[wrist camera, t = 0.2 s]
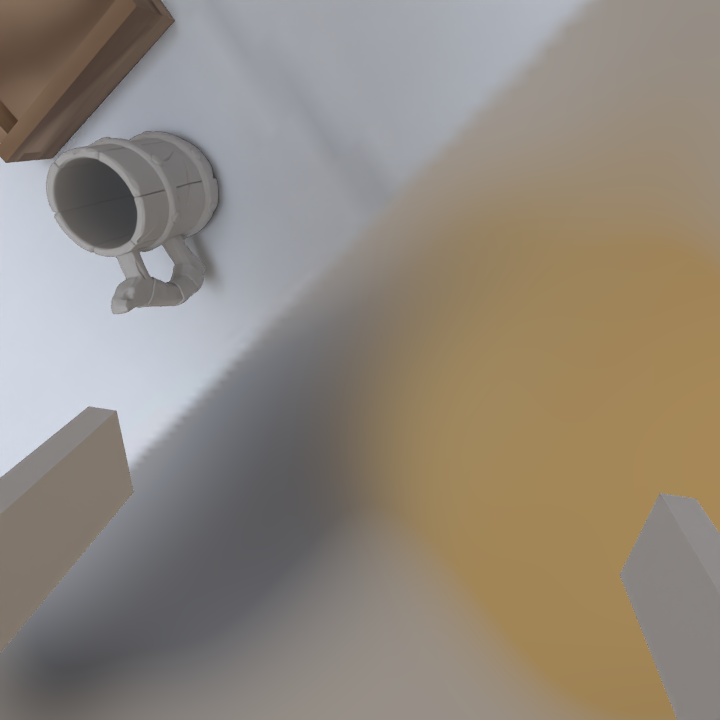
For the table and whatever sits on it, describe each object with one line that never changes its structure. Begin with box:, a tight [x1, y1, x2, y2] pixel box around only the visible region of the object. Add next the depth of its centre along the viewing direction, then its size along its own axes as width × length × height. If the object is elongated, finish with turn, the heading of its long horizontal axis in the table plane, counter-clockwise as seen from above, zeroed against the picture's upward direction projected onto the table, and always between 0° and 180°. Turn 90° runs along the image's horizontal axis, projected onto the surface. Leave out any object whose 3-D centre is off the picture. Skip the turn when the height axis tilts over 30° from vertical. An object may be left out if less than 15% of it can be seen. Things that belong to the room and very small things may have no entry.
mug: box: [46, 131, 219, 314], centre depth 32 cm, size 8×12×12 cm, turn 14°
